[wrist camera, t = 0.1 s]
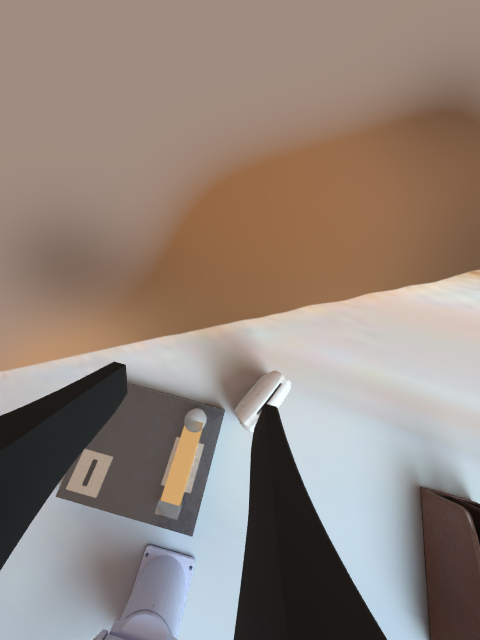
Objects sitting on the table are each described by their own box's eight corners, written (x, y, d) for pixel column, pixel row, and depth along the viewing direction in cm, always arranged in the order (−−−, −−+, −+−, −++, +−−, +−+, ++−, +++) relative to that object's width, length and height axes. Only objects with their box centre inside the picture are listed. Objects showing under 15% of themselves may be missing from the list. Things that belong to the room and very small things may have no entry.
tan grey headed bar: (190, 405, 36) (188, 406, 34) (209, 411, 36) (208, 412, 34) (158, 506, 31) (154, 513, 29) (180, 512, 31) (177, 520, 29)
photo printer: (247, 428, 38) (256, 442, 27) (230, 411, 39) (233, 419, 28) (279, 386, 42) (301, 383, 30) (263, 372, 42) (278, 363, 31)
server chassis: (194, 526, 33) (192, 537, 30) (67, 489, 33) (54, 496, 31) (224, 409, 39) (224, 410, 37) (117, 380, 40) (110, 379, 37)
